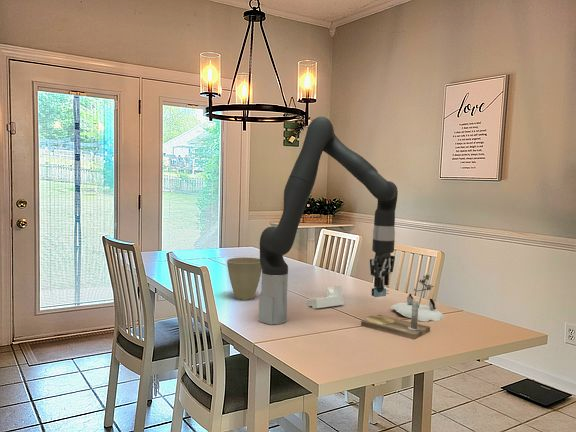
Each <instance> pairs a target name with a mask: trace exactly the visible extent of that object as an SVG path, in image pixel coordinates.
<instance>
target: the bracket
mask: <svg viewBox="0 0 576 432" xmlns="http://www.w3.org/2000/svg"><path fill="white" fill-rule="evenodd" d="M305 302H306V306H307V307H311V309H322V308H328V307H335V306H342V305H343V306H344V305H345V302H344V293H343V285H335V286H334V287H333V286H332V285H331V286H326V296H324V297H316V298H309V299H308V298H307V299H306V301H305Z"/></svg>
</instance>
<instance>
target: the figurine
mask: <svg viewBox="0 0 576 432" xmlns="http://www.w3.org/2000/svg"><path fill="white" fill-rule="evenodd" d="M422 278H423V279H421V278H420V279H419V280H418V282H419V283H420V284H422V289H417V288H414V289H413V291H415V292H421V294H420V298H419V301H418V321H419V322H429V321H433V322H437V321H441V319H445V315H444V314H443V313H442V312H440V311H439V310H438V309H437V308H436V304H435V301H434V299H433V298H429V303H428V305H426V304H421V301H422V296H423V292H424V291H431V290H432V288H433V287H434V285H432V284H429V283H428V284H426V282H427V281H429V280H430V274H429V273H426V274H425V275H423V276H422ZM426 280H427V281H426ZM406 301H407V302H397V303H395V304H393V305H392V306H391V307H390V309H393V310H395V311H396V313H399V314H400V315H402V316H404V317H405V318H409V319H411V318H412V302H416V301H415V299H414V297H413V296H412V294H411V293H409V294H408V296H407V299H406Z"/></svg>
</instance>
